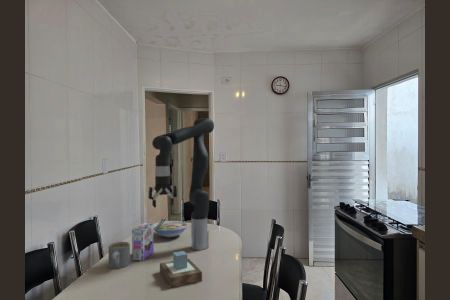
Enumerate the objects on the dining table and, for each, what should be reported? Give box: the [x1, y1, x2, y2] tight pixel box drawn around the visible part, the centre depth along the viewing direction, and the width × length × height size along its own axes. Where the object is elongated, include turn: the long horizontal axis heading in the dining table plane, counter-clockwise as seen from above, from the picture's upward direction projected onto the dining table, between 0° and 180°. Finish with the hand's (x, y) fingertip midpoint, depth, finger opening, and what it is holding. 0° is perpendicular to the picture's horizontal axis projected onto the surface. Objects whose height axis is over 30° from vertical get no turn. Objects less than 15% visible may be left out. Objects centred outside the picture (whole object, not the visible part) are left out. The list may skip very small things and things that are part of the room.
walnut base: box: [159, 258, 203, 288], centre depth 138 cm, size 14×18×4 cm
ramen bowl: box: [153, 218, 188, 239], centre depth 201 cm, size 25×23×8 cm
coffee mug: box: [108, 241, 131, 270], centre depth 150 cm, size 13×10×10 cm
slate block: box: [172, 250, 188, 270], centre depth 138 cm, size 5×5×6 cm
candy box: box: [131, 222, 155, 262], centre depth 164 cm, size 14×6×16 cm, turn 168°
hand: (163, 206), depth 157 cm, fingers open, 8 cm apart
